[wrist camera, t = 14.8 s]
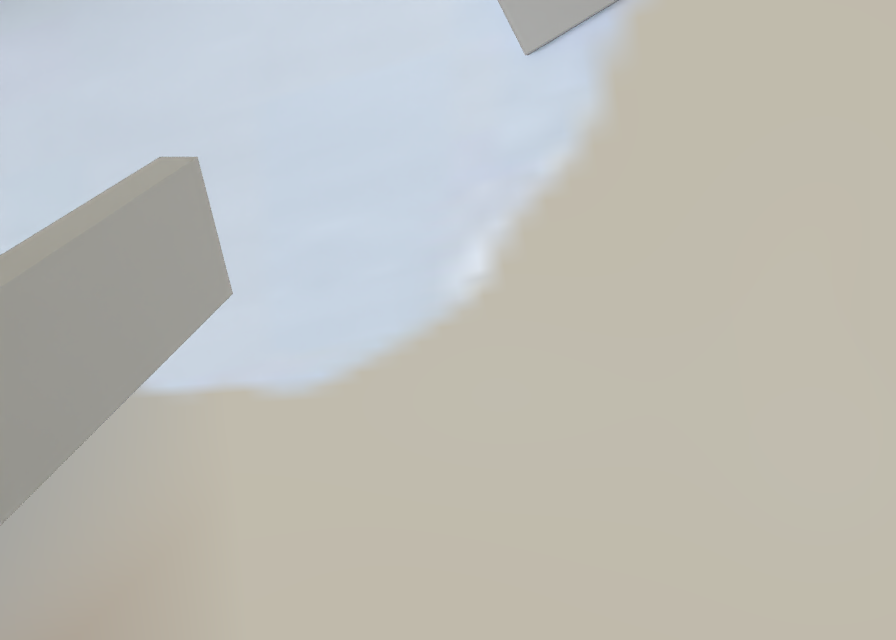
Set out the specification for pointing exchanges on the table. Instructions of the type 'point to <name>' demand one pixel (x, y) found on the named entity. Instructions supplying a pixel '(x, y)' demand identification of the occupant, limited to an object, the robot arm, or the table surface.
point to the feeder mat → (547, 18)
